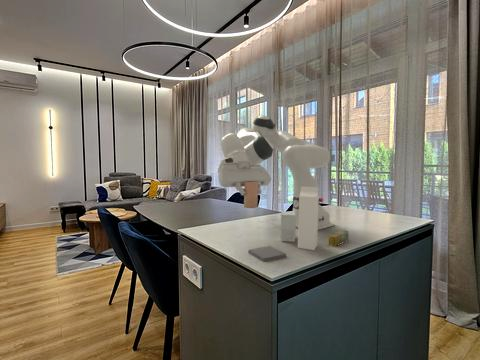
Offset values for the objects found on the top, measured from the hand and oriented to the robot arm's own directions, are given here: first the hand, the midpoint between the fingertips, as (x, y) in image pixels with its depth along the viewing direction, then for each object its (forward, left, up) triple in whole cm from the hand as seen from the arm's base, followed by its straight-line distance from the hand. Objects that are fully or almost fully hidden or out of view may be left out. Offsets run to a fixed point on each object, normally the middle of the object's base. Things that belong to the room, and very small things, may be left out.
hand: (251, 193), depth 94 cm
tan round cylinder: (0, -1, -5) cm, 5 cm away
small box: (-18, -2, -19) cm, 27 cm away
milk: (-18, +9, -19) cm, 28 cm away
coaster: (0, +9, -19) cm, 21 cm away
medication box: (-33, +11, -20) cm, 40 cm away
